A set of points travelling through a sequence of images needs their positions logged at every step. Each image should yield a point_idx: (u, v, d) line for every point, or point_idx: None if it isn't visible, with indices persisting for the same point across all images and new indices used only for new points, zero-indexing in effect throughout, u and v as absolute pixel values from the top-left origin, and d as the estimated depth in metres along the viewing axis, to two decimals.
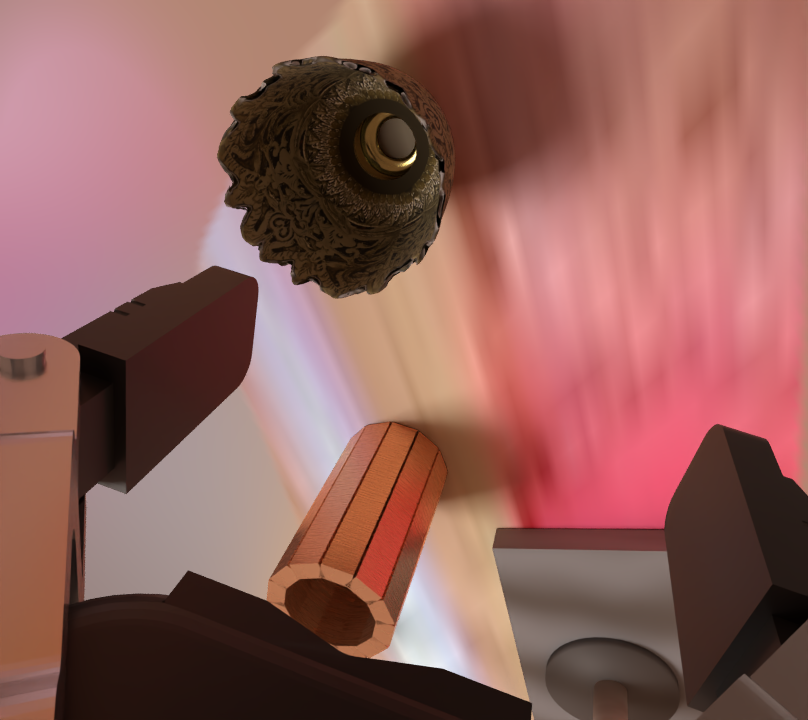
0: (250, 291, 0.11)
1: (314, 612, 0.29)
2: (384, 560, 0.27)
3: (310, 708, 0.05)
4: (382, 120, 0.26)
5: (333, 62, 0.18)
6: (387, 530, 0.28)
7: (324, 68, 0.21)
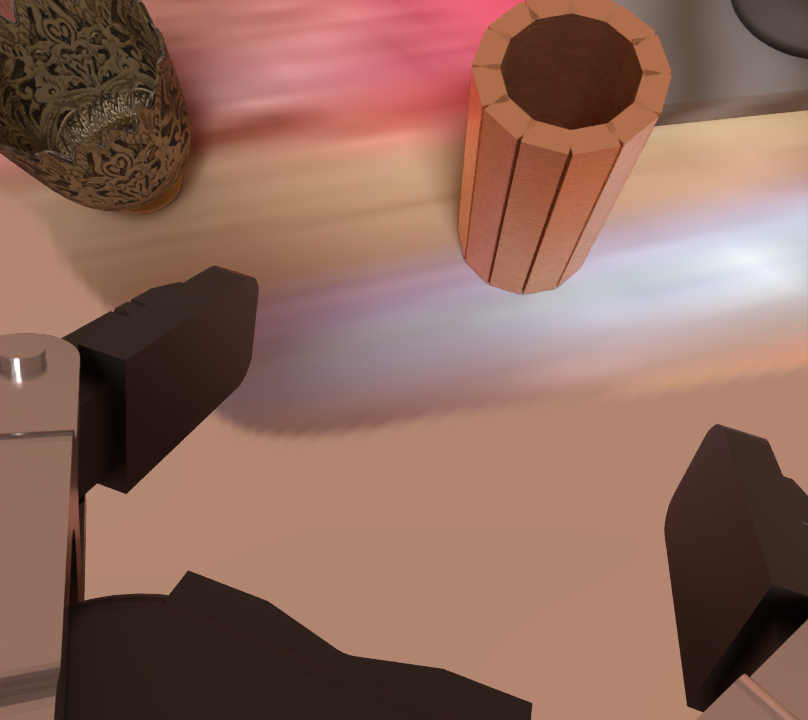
0: (250, 291, 0.11)
1: None
2: None
3: (310, 708, 0.05)
4: None
5: None
6: None
7: (4, 114, 0.25)
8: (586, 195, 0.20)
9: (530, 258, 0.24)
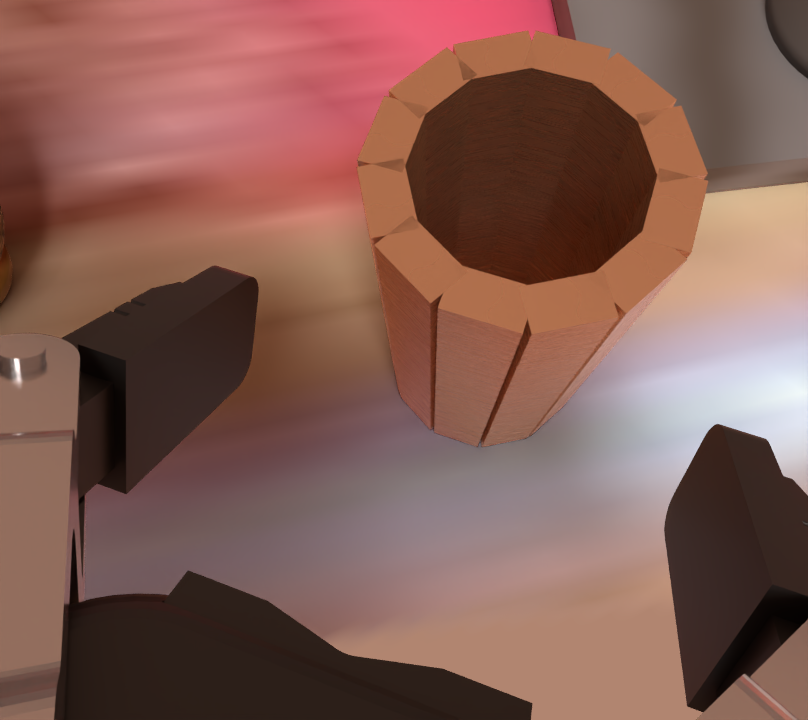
0: (250, 291, 0.11)
1: None
2: None
3: (310, 708, 0.05)
4: None
5: None
6: None
7: None
8: (562, 367, 0.12)
9: (484, 422, 0.16)
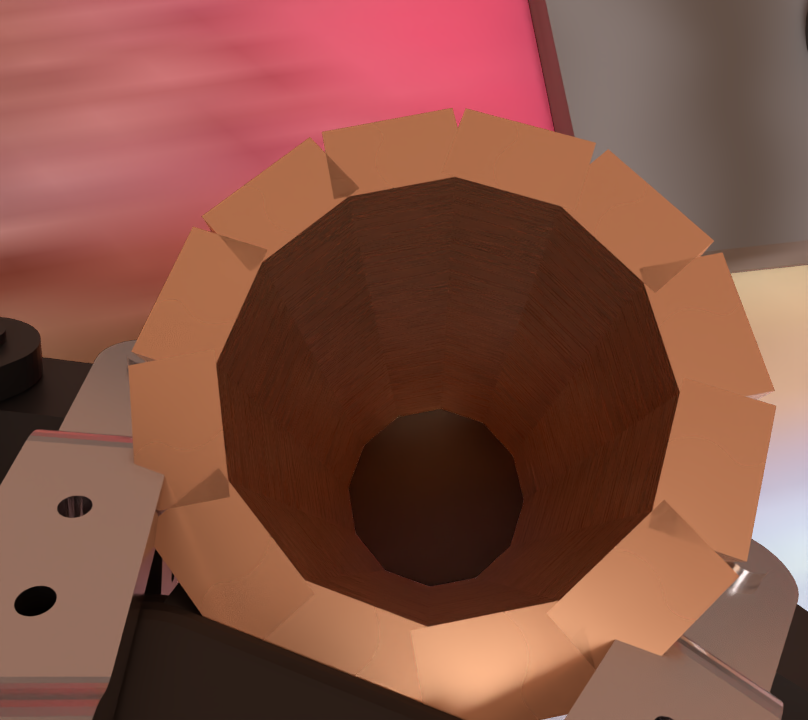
0: None
1: (588, 547, 0.06)
2: None
3: (310, 708, 0.05)
4: None
5: None
6: None
7: None
8: None
9: None
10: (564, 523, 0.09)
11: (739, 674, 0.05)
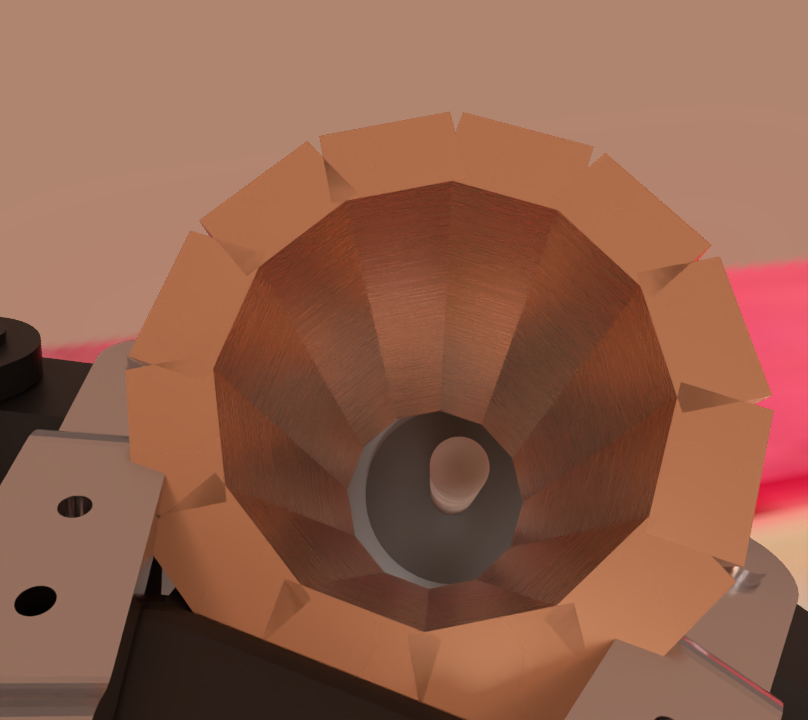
0: None
1: (586, 551, 0.06)
2: None
3: (310, 708, 0.05)
4: None
5: None
6: None
7: None
8: None
9: None
10: (562, 526, 0.09)
11: (738, 674, 0.05)
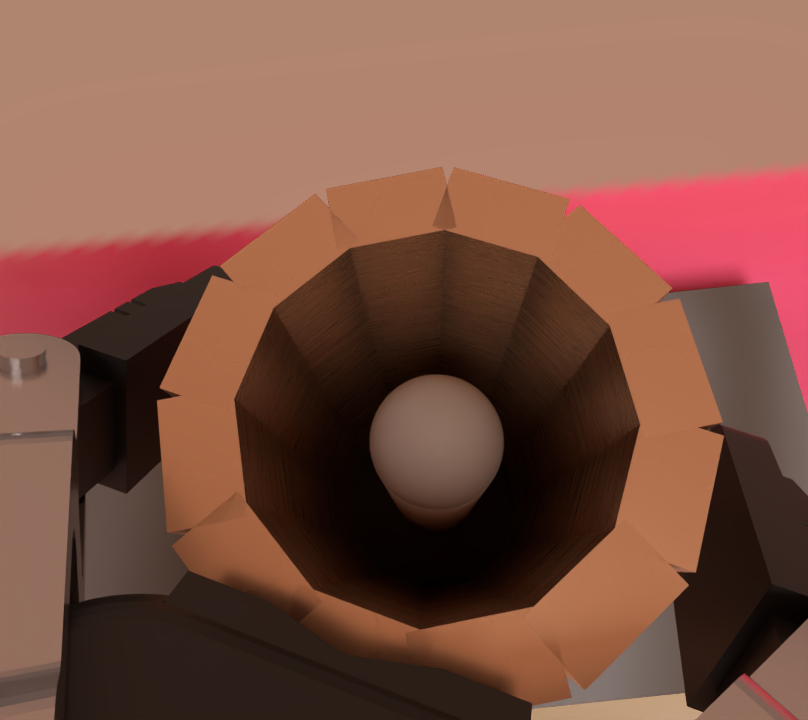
0: None
1: (563, 558, 0.07)
2: None
3: (310, 708, 0.05)
4: None
5: None
6: None
7: None
8: None
9: None
10: (548, 533, 0.10)
11: None
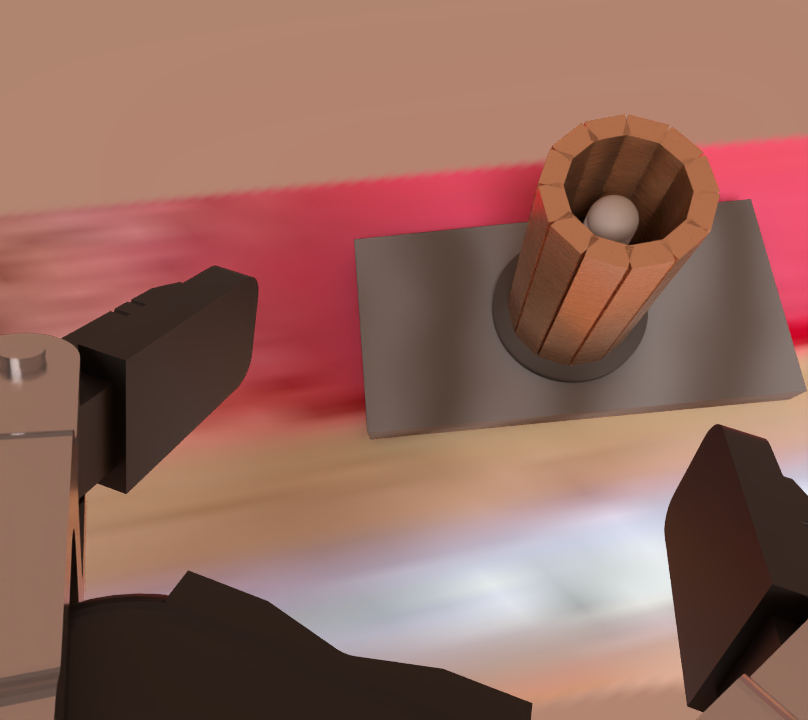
0: (250, 291, 0.11)
1: None
2: None
3: (310, 708, 0.05)
4: None
5: None
6: None
7: None
8: (639, 294, 0.22)
9: (581, 339, 0.26)
10: None
11: None
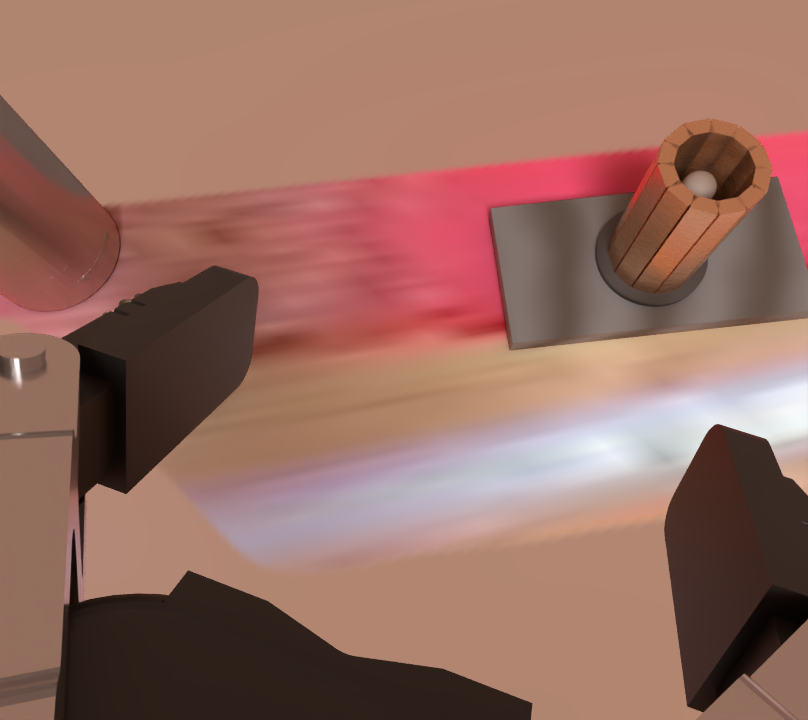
0: (250, 291, 0.11)
1: None
2: None
3: (310, 708, 0.05)
4: None
5: None
6: None
7: None
8: (718, 234, 0.35)
9: (669, 271, 0.39)
10: None
11: None
